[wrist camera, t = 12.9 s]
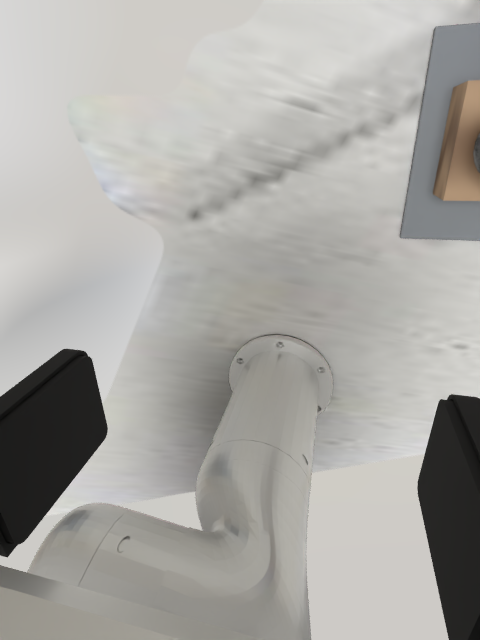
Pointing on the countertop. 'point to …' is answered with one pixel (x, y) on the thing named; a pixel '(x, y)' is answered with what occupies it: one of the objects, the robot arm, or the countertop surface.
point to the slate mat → (441, 139)
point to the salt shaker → (477, 153)
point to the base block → (460, 146)
